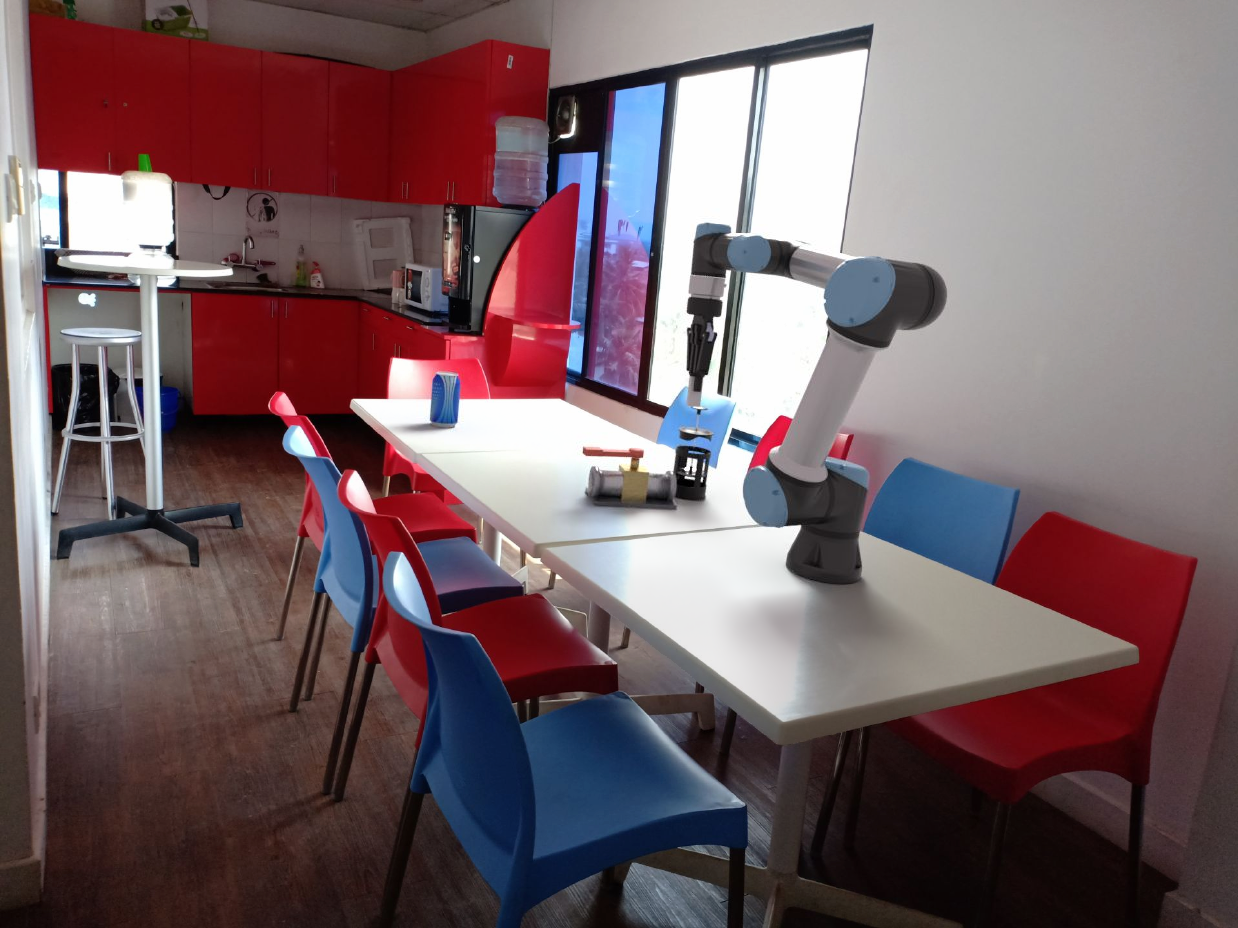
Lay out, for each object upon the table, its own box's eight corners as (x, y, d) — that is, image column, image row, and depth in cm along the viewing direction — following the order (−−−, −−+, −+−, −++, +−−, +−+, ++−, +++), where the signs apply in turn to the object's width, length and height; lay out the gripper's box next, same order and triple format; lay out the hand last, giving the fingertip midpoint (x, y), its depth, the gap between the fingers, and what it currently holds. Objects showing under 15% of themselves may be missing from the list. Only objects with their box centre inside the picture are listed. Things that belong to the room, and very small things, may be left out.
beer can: (426, 422, 285) (430, 370, 281) (453, 422, 289) (457, 371, 285) (433, 428, 278) (436, 375, 274) (460, 428, 281) (464, 376, 278)
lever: (639, 454, 224) (640, 448, 223) (645, 458, 221) (646, 451, 220) (581, 452, 219) (582, 446, 218) (586, 456, 215) (587, 449, 215)
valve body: (663, 495, 232) (668, 455, 230) (676, 509, 221) (682, 467, 218) (585, 491, 227) (589, 449, 225) (594, 505, 216) (599, 461, 214)
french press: (713, 501, 232) (726, 411, 227) (679, 501, 228) (692, 410, 223) (692, 488, 243) (704, 402, 237) (660, 488, 239) (671, 400, 234)
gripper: (733, 300, 193) (719, 411, 198) (711, 297, 206) (699, 402, 210) (699, 297, 191) (686, 409, 196) (679, 294, 204) (667, 400, 208)
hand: (693, 405), depth 203 cm, fingers closed
